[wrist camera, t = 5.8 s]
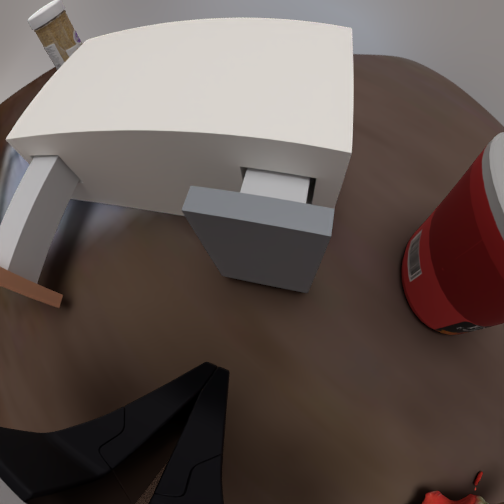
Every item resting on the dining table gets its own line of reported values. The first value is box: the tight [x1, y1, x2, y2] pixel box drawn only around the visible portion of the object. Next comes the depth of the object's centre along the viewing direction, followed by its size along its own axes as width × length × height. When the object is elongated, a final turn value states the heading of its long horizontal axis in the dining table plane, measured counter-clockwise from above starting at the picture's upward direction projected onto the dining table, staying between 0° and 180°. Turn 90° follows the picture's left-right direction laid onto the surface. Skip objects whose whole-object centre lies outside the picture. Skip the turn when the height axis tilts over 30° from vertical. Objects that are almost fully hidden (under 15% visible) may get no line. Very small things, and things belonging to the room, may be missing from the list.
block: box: [6, 18, 353, 216], centre depth 19 cm, size 12×22×9 cm, turn 77°
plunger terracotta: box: [0, 155, 80, 308], centre depth 16 cm, size 14×5×8 cm, turn 167°
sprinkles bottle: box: [28, 0, 82, 70], centre depth 24 cm, size 5×5×13 cm
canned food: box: [402, 132, 504, 335], centre depth 12 cm, size 8×8×11 cm
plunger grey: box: [182, 167, 335, 293], centre depth 16 cm, size 14×5×8 cm, turn 167°
